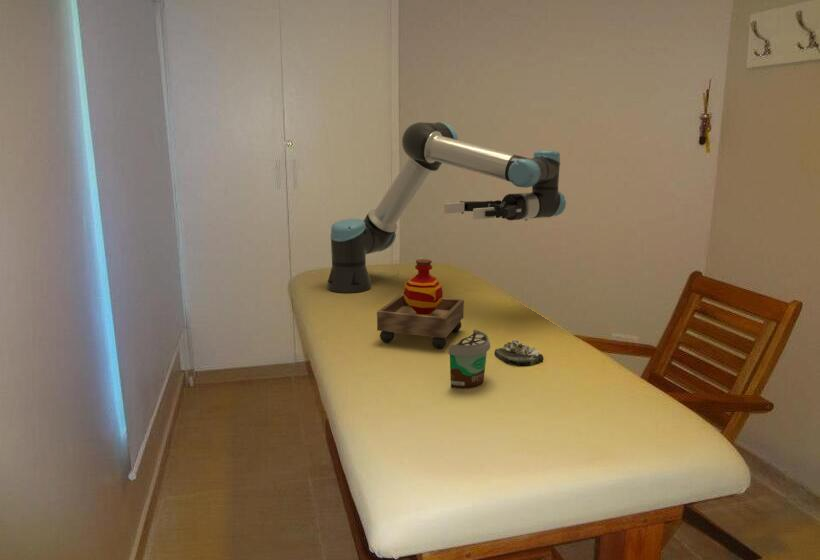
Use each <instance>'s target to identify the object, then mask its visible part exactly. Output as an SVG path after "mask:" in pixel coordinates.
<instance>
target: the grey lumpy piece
mask: <svg viewBox="0 0 820 560" xmlns="http://www.w3.org/2000/svg"><path fill="white" fill-rule="evenodd" d="M494 356H495V357H496V358H497V359H499V360H500V361H501V362H503V363H505V364H508V365H511V366H514V367H515V366H516V367H533V366H536V365H540V364H542V363H544V355H543V354H541V353H540V351H539V350H538V349H537V348H535V347H530V346H529V345H527V344H523V343H522V342H521V341H519V340H518V339H512V340H511V341H507V342H506V343H504V345H503V346H502V347H501V348H496V349H495V351H494Z"/></svg>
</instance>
